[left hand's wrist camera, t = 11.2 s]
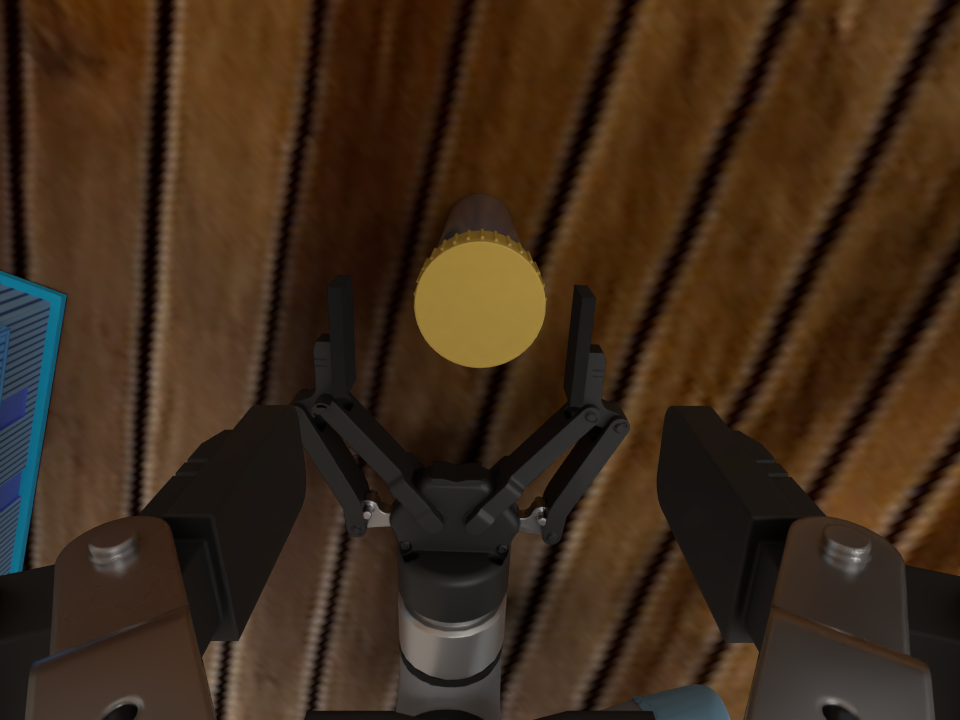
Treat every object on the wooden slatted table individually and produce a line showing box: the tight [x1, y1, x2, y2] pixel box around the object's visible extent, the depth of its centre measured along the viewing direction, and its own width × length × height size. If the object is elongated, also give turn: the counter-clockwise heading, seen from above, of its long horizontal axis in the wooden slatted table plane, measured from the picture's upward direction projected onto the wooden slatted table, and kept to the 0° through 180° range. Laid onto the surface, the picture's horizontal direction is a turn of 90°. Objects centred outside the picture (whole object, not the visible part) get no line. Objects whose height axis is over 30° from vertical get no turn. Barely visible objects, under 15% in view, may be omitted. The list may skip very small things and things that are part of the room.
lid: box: [414, 229, 547, 368], centre depth 22 cm, size 5×5×2 cm
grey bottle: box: [437, 194, 523, 248], centre depth 29 cm, size 4×4×18 cm
